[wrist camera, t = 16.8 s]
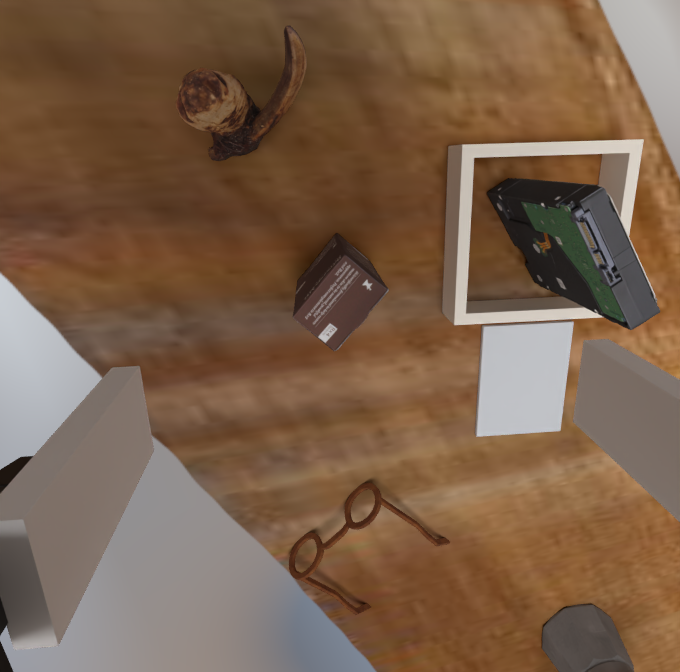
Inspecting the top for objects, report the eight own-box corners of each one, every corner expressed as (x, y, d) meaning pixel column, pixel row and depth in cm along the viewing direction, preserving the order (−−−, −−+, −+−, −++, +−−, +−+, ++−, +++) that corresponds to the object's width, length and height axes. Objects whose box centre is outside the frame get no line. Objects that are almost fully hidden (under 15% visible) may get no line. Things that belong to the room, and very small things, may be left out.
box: (333, 229, 46) (345, 251, 35) (371, 261, 47) (395, 293, 36) (291, 281, 47) (290, 318, 36) (329, 310, 48) (339, 356, 37)
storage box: (448, 146, 44) (462, 144, 41) (614, 141, 45) (643, 139, 42) (442, 312, 49) (454, 325, 46) (592, 304, 50) (616, 316, 47)
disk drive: (561, 268, 49) (667, 311, 35) (535, 285, 49) (630, 334, 35) (511, 174, 46) (606, 180, 32) (484, 192, 46) (566, 206, 32)
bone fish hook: (295, 61, 41) (296, -9, 24) (321, 119, 43) (338, 91, 26) (193, 114, 42) (124, 81, 25) (222, 168, 44) (174, 173, 27)
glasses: (371, 472, 55) (378, 501, 50) (449, 538, 59) (463, 571, 54) (286, 548, 57) (285, 583, 52) (367, 607, 61) (373, 644, 56)
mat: (481, 325, 50) (483, 326, 50) (571, 320, 51) (573, 322, 50) (474, 434, 54) (476, 436, 53) (557, 428, 55) (560, 430, 54)
